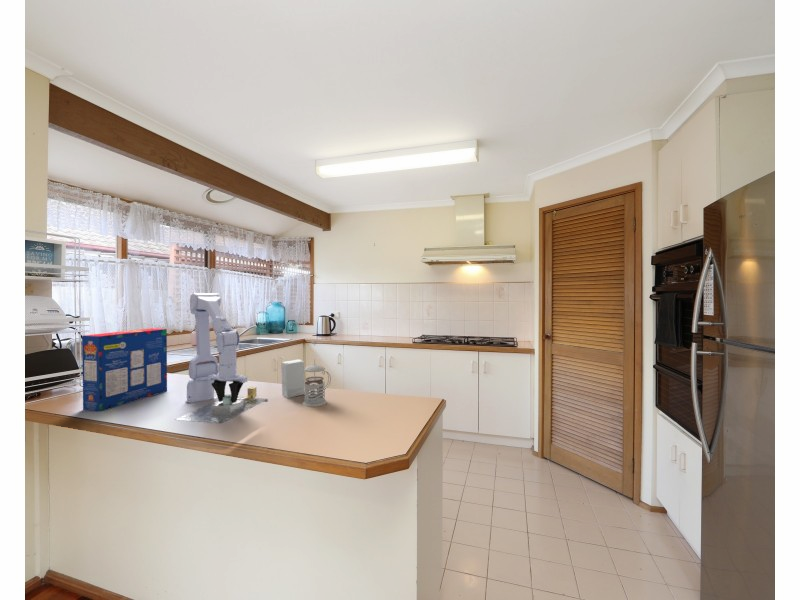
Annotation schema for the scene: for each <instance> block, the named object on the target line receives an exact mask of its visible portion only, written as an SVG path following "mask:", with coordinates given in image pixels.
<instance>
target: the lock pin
mask: <svg viewBox="0 0 800 600" xmlns="http://www.w3.org/2000/svg"><path fill="white" fill-rule="evenodd" d="M243 397H244V396H243ZM244 398H245V402H246V401H248V400H250V399H253V398H257V386H250V387H248V388H247V395H246V396H245V397H244Z"/></svg>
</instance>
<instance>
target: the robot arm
mask: <svg viewBox="0 0 800 600" xmlns="http://www.w3.org/2000/svg"><path fill="white" fill-rule="evenodd" d="M221 303H222V299H221V295H220V294H219V293H218V292H215V293H213V292H210V293H209V292H208V293H206V292H205V293H204V292H200V293H199V292H198V293H196V292H193V293H192V294H191V295H190V298H189V311H190V314H192V315H194V318H195V320H194V321H195V338H196V339H195V340H196V355H195V356H194V357H192V358H191V359H190V360H189V365H188V376H189V378H190V379H189V380H188V382H187V385H186V400H184V402H185V403H195V402H200V401H201V402H202V401H203V402H204V401H209V400H212V399H217V401H218V400H219V402H221V401H223V397H225V395H226V386H227V382H230V383H228V386H229V390H230V395H231V401H232V402H236V401H237V398H238V397H239V394H240V391H241V389H242V387H243V385H244V384H245V383H248V376H247V375H246V376H245V375H241V374H240V375H239V374H237V347H238V345H239V344H240V334H239V331H238V330H237V329H234V328H233V327H232V326H231V324H230V322H229V320H228V318H227V317H226V316H223V313H222V310H221ZM209 317H210V318H211V320H212V321H211V323H210V318H209ZM210 324H211V328H212V329H213V332H214V333H215V336H216V337H215V344H216V347H217V348H216V349H217V353H218V358H217V357H216V356H215V355H212V354H211V335H210V334H211V332H210ZM215 393H216V396H215Z"/></svg>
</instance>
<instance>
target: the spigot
mask: <svg viewBox="0 0 800 600" xmlns="http://www.w3.org/2000/svg"><path fill="white" fill-rule="evenodd" d="M231 404H233V402H232V401H231V393H230V394H229V393H228V394H225V397H223V405H231Z"/></svg>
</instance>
